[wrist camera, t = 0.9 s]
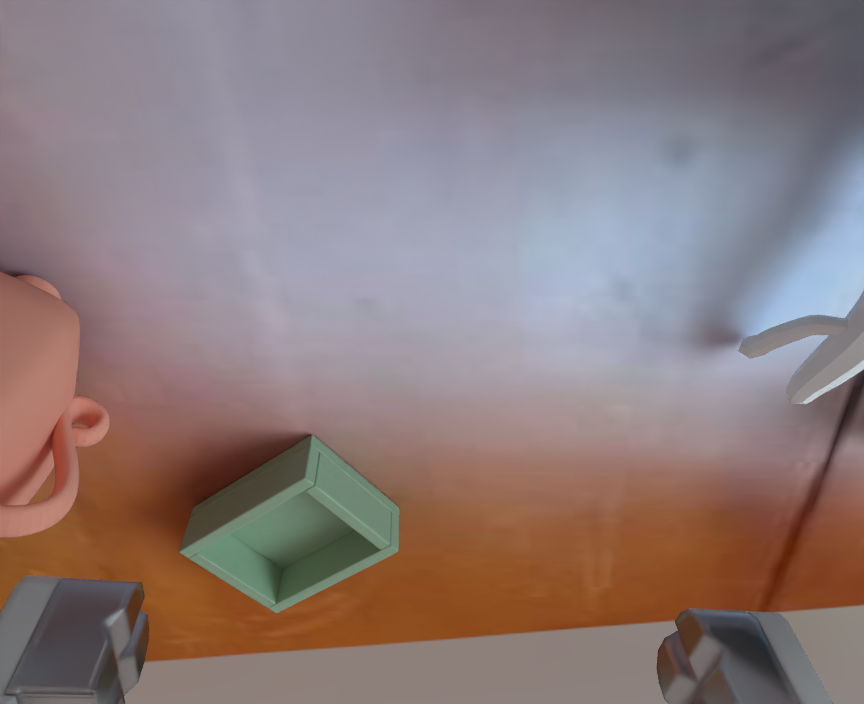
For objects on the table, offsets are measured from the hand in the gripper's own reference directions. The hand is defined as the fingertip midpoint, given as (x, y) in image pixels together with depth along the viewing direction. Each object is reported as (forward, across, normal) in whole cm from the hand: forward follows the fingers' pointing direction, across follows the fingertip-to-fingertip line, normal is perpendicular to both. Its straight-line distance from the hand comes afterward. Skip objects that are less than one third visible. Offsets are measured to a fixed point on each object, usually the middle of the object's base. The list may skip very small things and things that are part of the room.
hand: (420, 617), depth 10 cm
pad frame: (+16, +3, +16) cm, 23 cm away
